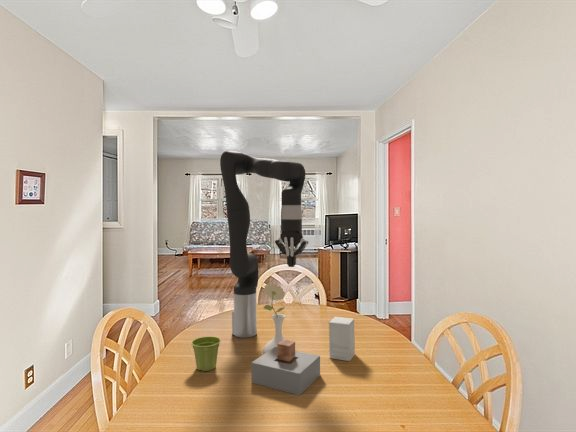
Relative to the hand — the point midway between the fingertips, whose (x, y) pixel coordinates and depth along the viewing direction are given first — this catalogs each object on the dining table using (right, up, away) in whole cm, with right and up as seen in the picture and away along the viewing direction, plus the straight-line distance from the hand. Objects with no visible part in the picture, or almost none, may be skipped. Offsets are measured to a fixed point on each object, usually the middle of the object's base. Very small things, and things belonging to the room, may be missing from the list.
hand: (291, 266), depth 130 cm
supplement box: (+18, -31, -3) cm, 36 cm away
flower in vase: (-5, -31, -1) cm, 32 cm away
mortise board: (-2, -31, -20) cm, 37 cm away
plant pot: (-28, -32, -11) cm, 44 cm away
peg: (-2, -30, -20) cm, 36 cm away
